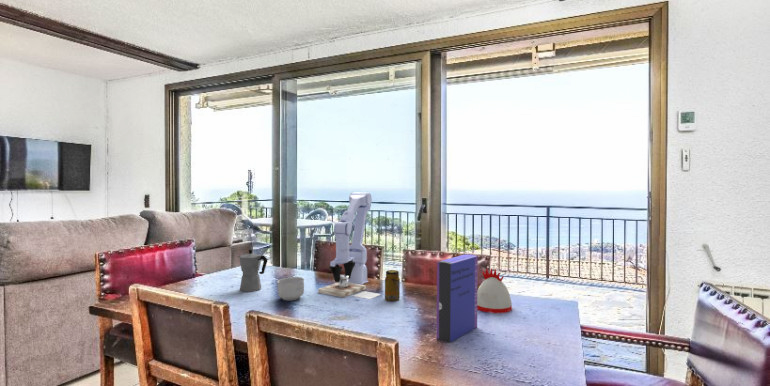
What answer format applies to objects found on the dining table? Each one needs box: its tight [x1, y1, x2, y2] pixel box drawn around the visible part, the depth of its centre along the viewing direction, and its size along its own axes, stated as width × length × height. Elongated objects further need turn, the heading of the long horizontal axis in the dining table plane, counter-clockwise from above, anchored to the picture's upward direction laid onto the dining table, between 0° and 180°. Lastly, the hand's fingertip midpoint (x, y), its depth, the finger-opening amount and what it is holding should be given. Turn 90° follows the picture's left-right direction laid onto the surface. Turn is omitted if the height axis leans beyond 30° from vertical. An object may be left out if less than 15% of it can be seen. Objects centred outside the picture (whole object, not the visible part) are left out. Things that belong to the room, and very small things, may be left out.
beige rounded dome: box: [477, 268, 513, 314], centre depth 159 cm, size 14×14×15 cm
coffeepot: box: [237, 248, 268, 293], centre depth 185 cm, size 15×9×18 cm, turn 70°
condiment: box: [384, 269, 401, 302], centre depth 168 cm, size 7×8×12 cm
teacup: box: [276, 276, 305, 302], centre depth 172 cm, size 14×11×8 cm
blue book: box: [436, 254, 479, 344], centre depth 132 cm, size 17×5×24 cm, turn 141°
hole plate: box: [317, 282, 367, 298], centre depth 182 cm, size 16×14×2 cm
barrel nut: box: [339, 274, 349, 289], centre depth 181 cm, size 5×5×7 cm
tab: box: [352, 290, 382, 300], centre depth 175 cm, size 9×9×1 cm
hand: (342, 280), depth 182 cm, fingers open, 7 cm apart
